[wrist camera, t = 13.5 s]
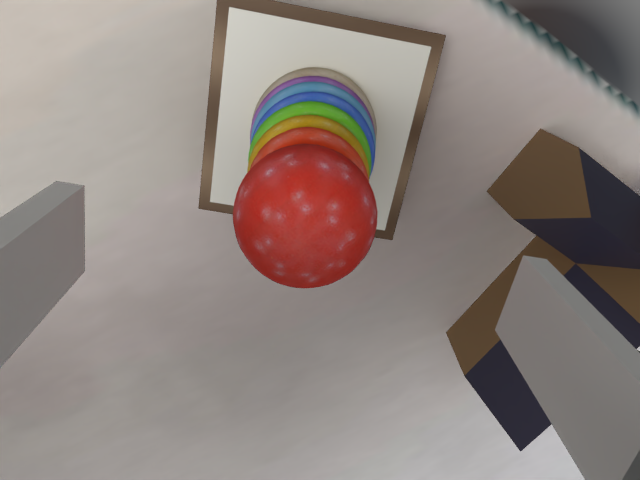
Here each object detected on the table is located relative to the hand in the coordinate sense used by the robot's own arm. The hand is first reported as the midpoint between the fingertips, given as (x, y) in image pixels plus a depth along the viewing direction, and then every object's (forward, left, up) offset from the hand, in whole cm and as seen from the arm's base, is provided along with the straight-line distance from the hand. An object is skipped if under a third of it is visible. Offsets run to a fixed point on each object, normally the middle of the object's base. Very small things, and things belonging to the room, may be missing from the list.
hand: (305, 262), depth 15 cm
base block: (0, 0, -26) cm, 26 cm away
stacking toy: (0, 0, -20) cm, 20 cm away
